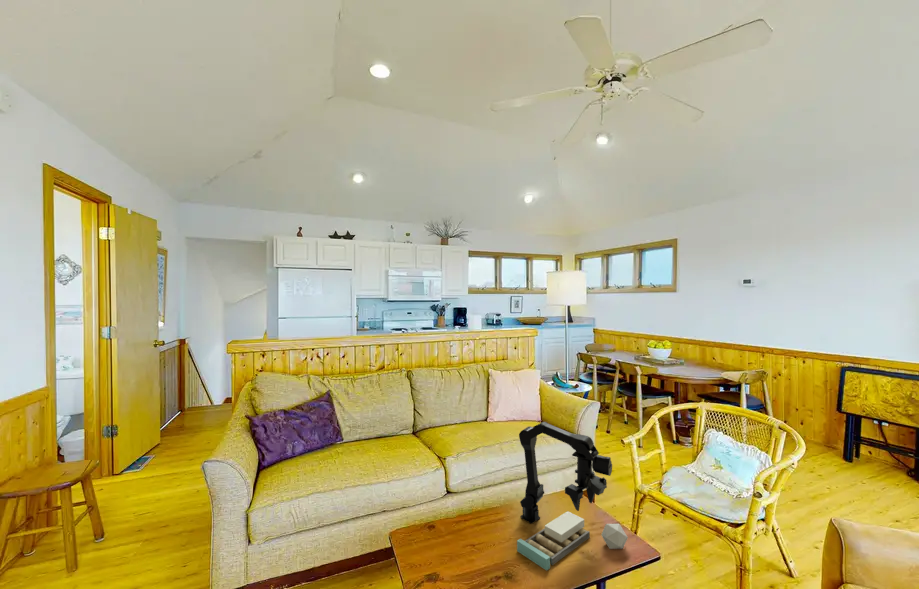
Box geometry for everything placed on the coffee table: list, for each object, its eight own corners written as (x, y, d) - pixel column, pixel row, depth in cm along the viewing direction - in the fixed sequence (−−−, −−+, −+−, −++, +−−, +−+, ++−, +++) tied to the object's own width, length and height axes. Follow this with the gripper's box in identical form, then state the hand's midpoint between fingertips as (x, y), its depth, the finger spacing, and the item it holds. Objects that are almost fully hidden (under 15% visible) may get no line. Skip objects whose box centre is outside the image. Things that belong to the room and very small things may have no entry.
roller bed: (524, 547, 150) (524, 539, 150) (561, 522, 166) (561, 515, 166) (552, 565, 140) (552, 557, 140) (589, 537, 156) (589, 530, 156)
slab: (544, 533, 154) (544, 525, 154) (567, 518, 164) (567, 511, 165) (561, 542, 148) (561, 534, 148) (584, 526, 158) (584, 519, 158)
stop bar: (517, 551, 148) (517, 540, 148) (520, 548, 149) (520, 538, 149) (546, 570, 137) (546, 559, 137) (550, 568, 138) (550, 557, 138)
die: (624, 558, 144) (634, 532, 147) (602, 544, 146) (612, 518, 149) (615, 553, 152) (625, 528, 155) (595, 539, 154) (604, 515, 157)
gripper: (588, 483, 144) (588, 524, 144) (615, 469, 156) (614, 507, 156) (564, 472, 153) (563, 511, 153) (590, 460, 165) (590, 496, 165)
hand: (584, 506), depth 156 cm, fingers open, 9 cm apart
